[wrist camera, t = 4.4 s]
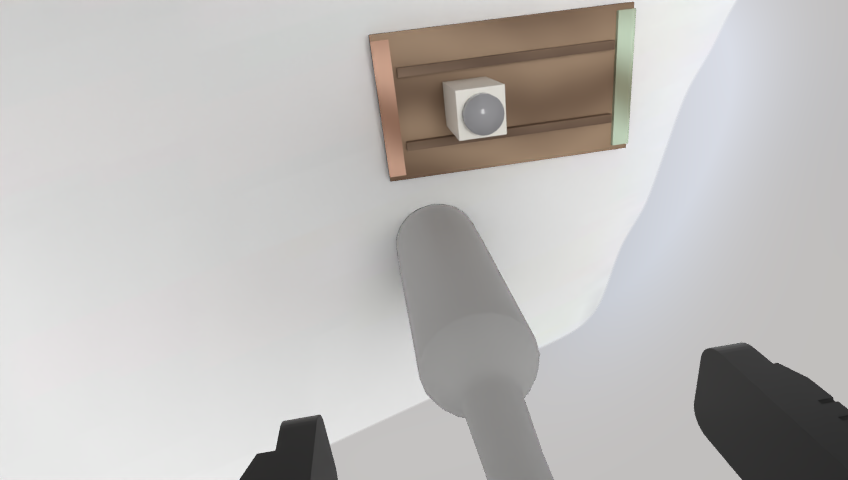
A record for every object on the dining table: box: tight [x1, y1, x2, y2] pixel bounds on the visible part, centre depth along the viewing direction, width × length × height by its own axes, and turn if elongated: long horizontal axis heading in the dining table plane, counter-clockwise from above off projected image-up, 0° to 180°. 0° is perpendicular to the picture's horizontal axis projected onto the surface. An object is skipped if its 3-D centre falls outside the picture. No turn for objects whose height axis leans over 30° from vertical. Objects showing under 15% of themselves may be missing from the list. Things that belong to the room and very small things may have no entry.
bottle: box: [397, 204, 554, 480], centre depth 27 cm, size 7×7×28 cm
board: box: [369, 2, 636, 181], centre depth 35 cm, size 10×18×2 cm, turn 96°
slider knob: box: [442, 76, 507, 141], centre depth 32 cm, size 3×3×6 cm
